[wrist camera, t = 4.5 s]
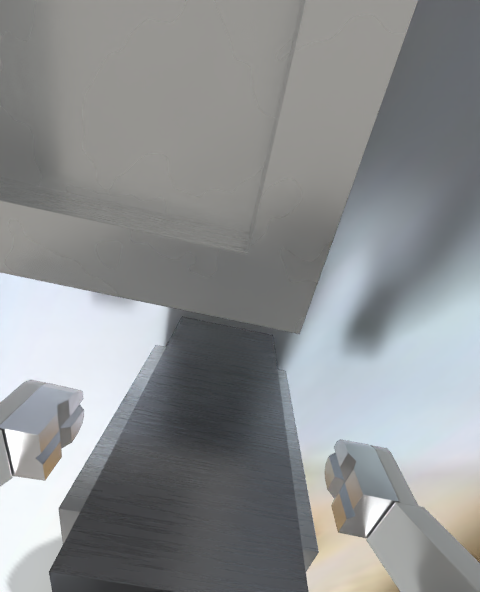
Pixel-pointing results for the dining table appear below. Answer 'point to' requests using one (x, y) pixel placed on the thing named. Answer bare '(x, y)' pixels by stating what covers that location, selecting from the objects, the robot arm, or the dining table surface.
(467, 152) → the dining table surface
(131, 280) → the grey rectangular tray
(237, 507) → the grey rectangular block
